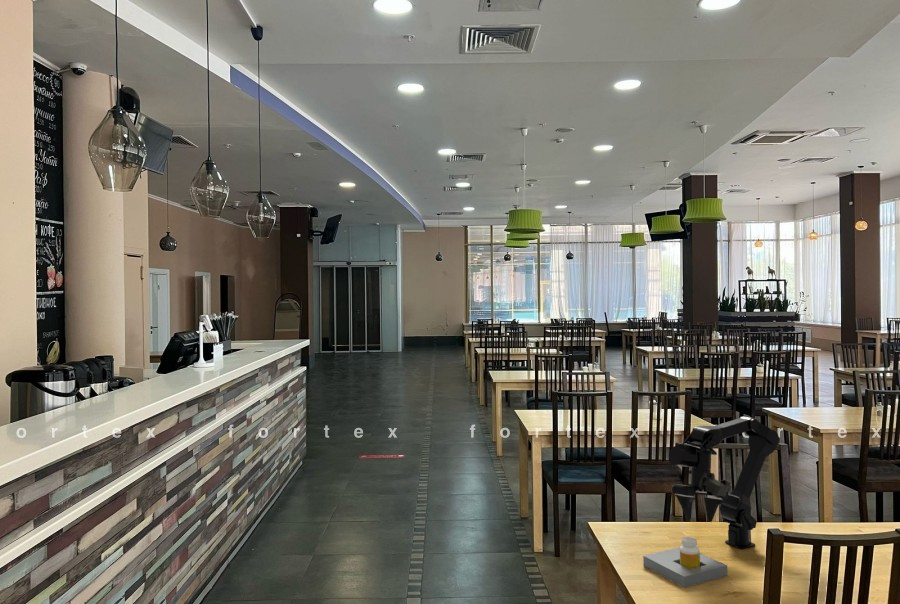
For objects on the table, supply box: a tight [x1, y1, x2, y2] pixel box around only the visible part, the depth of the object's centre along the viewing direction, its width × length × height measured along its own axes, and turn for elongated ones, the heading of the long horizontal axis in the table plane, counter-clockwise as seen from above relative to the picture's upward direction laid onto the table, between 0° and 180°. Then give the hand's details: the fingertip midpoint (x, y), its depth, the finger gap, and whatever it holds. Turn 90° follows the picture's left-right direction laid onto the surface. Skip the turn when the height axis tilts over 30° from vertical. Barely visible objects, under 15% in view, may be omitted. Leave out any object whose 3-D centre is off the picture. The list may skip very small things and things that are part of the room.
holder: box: [642, 546, 728, 589], centre depth 177 cm, size 16×16×3 cm
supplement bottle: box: [679, 536, 701, 569], centre depth 175 cm, size 5×5×10 cm
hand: (699, 521), depth 186 cm, fingers open, 9 cm apart
